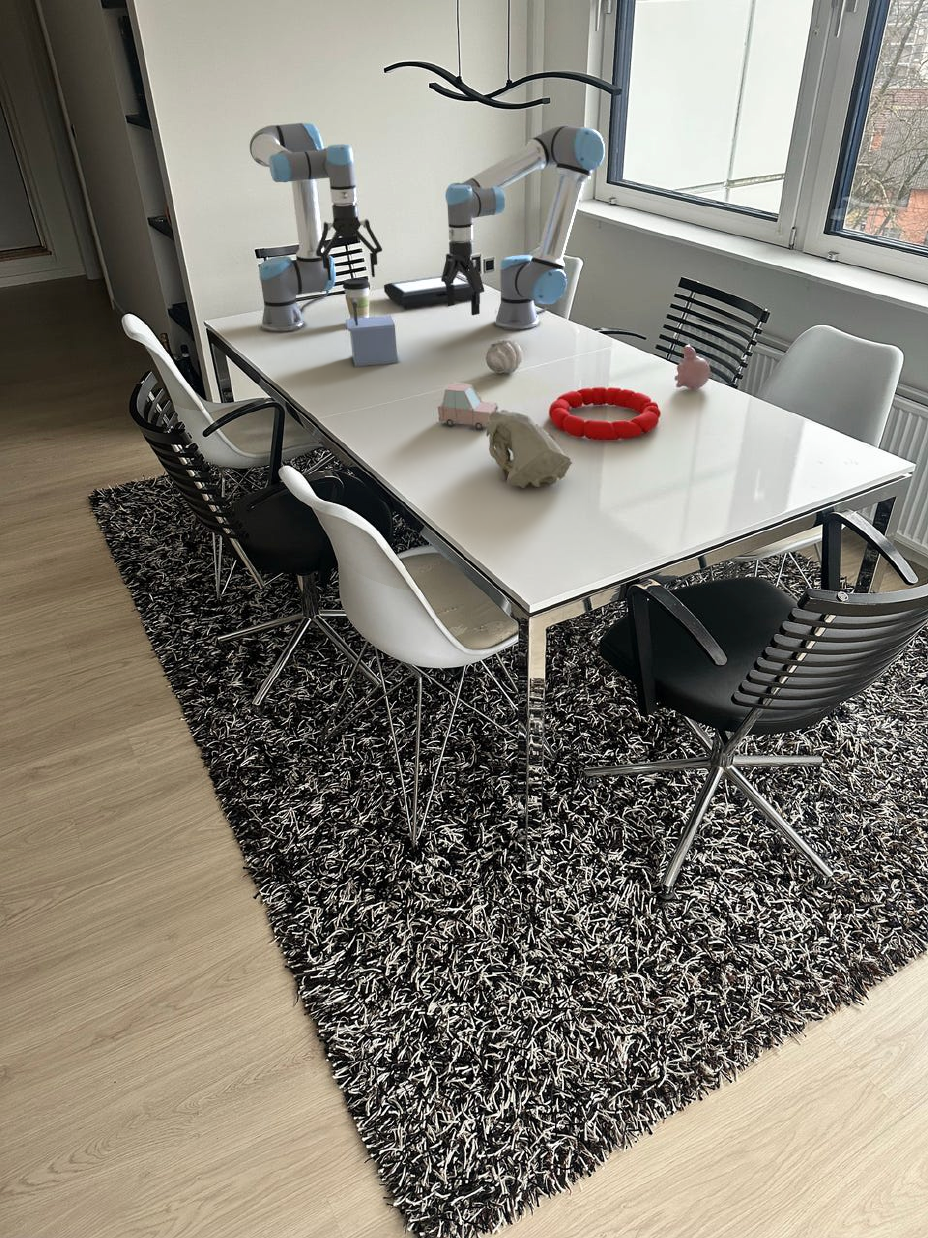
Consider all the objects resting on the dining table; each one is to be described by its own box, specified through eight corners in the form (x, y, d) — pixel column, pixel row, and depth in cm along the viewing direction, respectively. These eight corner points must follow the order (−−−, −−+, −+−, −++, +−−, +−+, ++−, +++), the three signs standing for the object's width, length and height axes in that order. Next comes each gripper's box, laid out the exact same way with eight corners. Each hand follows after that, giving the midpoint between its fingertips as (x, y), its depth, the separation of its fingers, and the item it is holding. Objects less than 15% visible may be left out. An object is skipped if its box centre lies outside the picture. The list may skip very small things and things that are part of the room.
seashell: (476, 372, 280) (475, 340, 274) (517, 363, 285) (517, 332, 280) (493, 381, 272) (492, 349, 266) (534, 372, 278) (534, 340, 272)
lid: (348, 331, 281) (345, 304, 277) (345, 322, 290) (343, 296, 285) (395, 327, 283) (393, 300, 279) (391, 318, 292) (389, 292, 287)
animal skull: (496, 517, 219) (521, 479, 201) (463, 429, 225) (484, 384, 207) (557, 503, 225) (586, 465, 206) (523, 417, 231) (549, 373, 212)
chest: (355, 366, 288) (351, 331, 281) (352, 356, 296) (348, 322, 290) (397, 362, 290) (395, 327, 283) (393, 352, 298) (391, 318, 292)
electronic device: (401, 294, 334) (383, 282, 349) (402, 311, 338) (384, 299, 353) (478, 283, 345) (457, 272, 360) (478, 299, 348) (458, 288, 363)
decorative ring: (589, 435, 224) (684, 402, 234) (527, 398, 247) (617, 369, 256) (589, 461, 229) (683, 427, 238) (529, 422, 251) (617, 393, 260)
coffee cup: (372, 326, 323) (368, 283, 314) (345, 327, 323) (340, 284, 315) (374, 318, 331) (371, 276, 322) (348, 319, 331) (344, 277, 323)
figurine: (665, 387, 264) (669, 347, 257) (693, 380, 268) (698, 340, 261) (686, 396, 257) (690, 355, 250) (714, 388, 262) (720, 348, 255)
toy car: (488, 432, 240) (488, 396, 234) (436, 426, 244) (434, 390, 239) (499, 419, 247) (499, 384, 241) (448, 413, 252) (447, 379, 246)
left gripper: (302, 208, 261) (312, 283, 273) (387, 202, 264) (392, 277, 276) (301, 203, 267) (310, 277, 279) (384, 198, 270) (389, 271, 282)
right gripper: (428, 235, 284) (431, 304, 296) (475, 248, 267) (476, 320, 279) (447, 232, 287) (450, 299, 299) (494, 244, 271) (495, 315, 283)
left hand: (351, 277), depth 277 cm, fingers open, 13 cm apart
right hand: (463, 309), depth 289 cm, fingers open, 13 cm apart
